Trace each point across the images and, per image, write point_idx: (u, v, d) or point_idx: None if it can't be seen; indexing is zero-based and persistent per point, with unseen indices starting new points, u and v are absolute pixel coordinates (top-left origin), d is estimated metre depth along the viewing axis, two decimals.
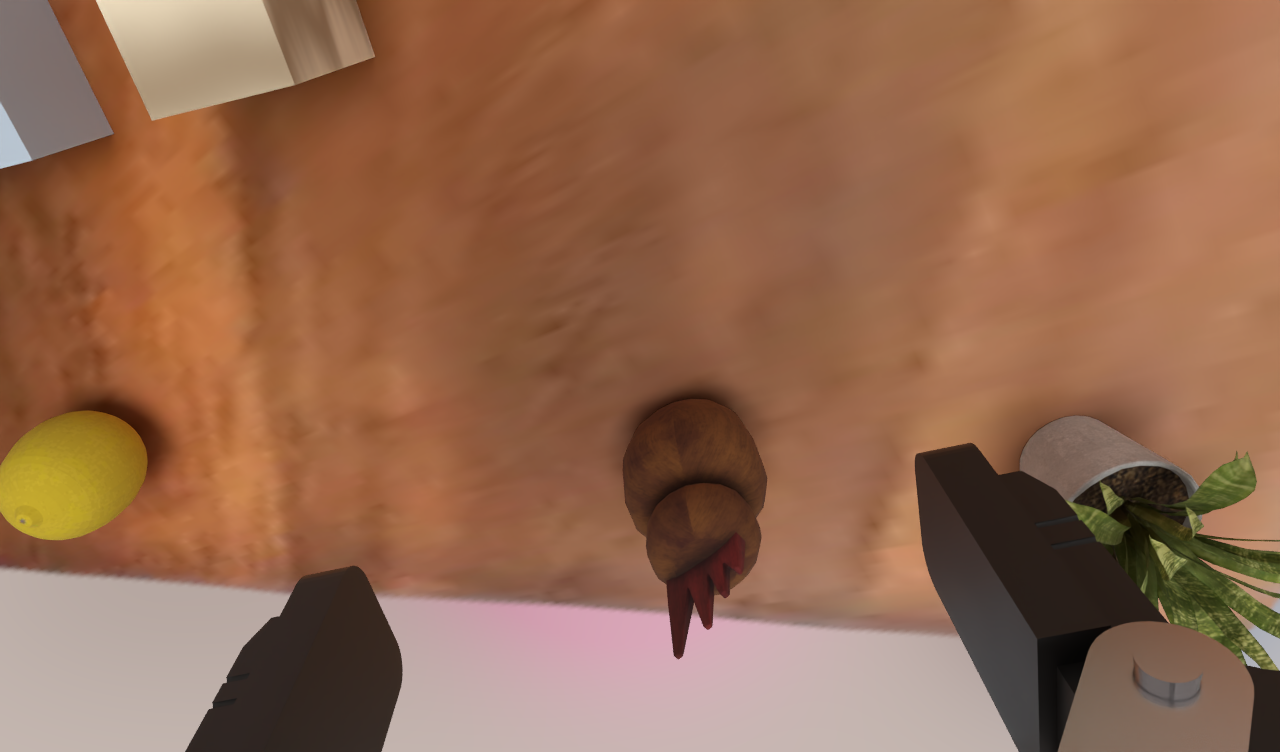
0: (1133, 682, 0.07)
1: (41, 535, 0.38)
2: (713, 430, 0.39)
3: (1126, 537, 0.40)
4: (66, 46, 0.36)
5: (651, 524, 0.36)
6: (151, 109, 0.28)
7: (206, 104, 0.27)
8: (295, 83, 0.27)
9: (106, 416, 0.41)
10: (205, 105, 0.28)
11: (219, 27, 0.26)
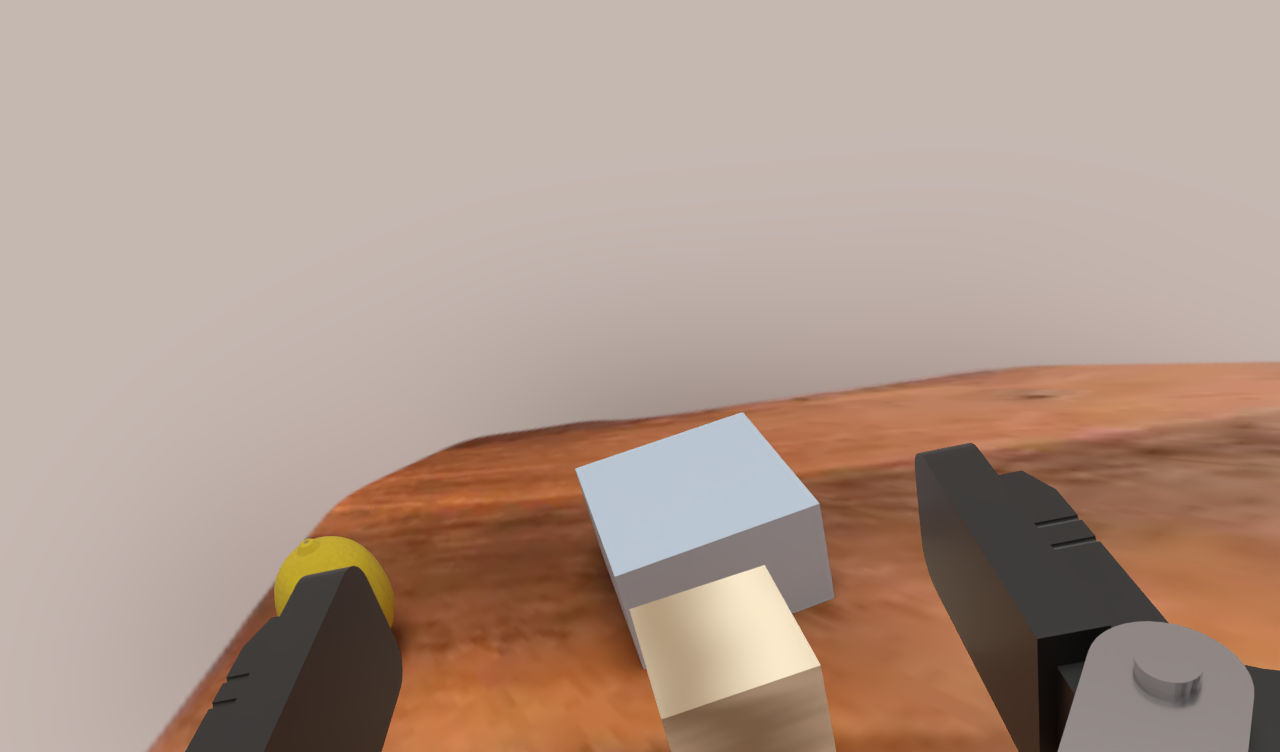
0: (1133, 683, 0.07)
1: (288, 557, 0.42)
2: None
3: None
4: None
5: None
6: (639, 609, 0.29)
7: (643, 647, 0.27)
8: (663, 721, 0.25)
9: None
10: (641, 646, 0.27)
11: (714, 657, 0.26)
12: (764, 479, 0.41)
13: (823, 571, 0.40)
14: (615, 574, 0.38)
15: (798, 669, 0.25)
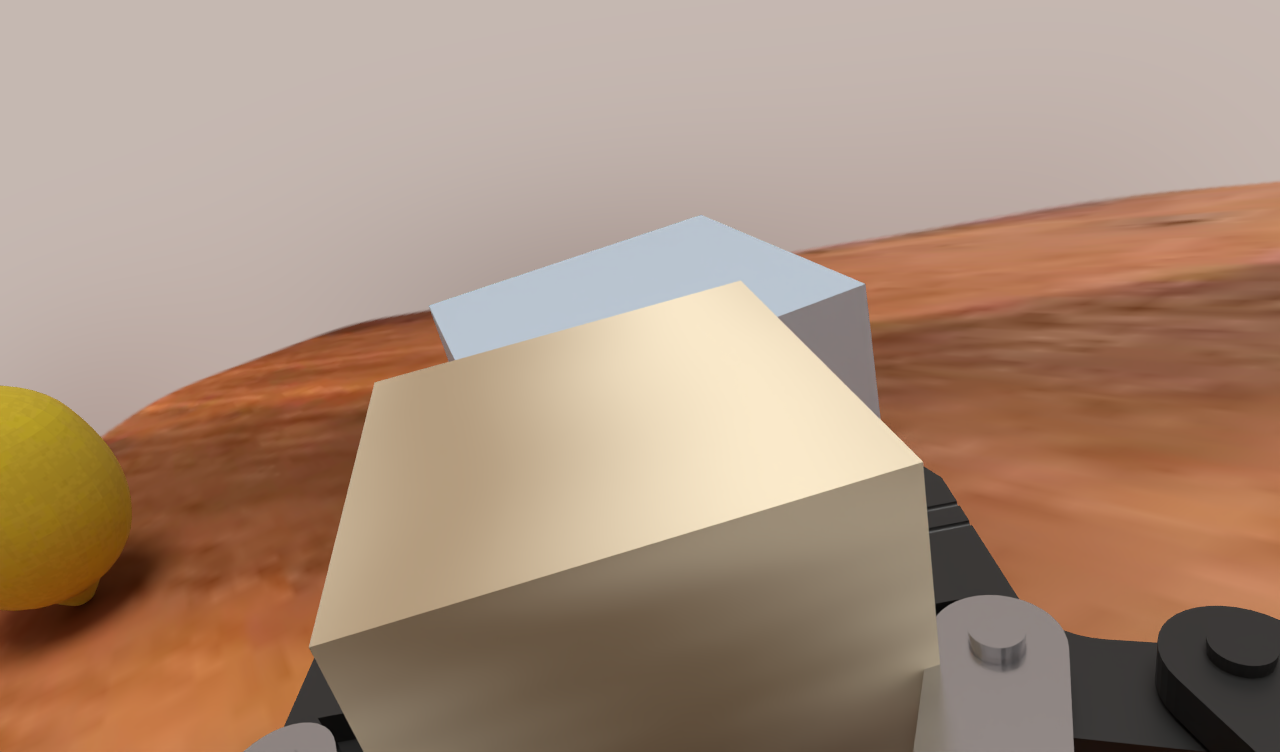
0: (965, 649, 0.08)
1: None
2: None
3: None
4: None
5: None
6: (398, 380, 0.11)
7: (363, 454, 0.09)
8: (318, 655, 0.06)
9: (85, 555, 0.25)
10: (362, 453, 0.09)
11: (559, 463, 0.08)
12: (755, 272, 0.23)
13: None
14: None
15: (841, 475, 0.07)
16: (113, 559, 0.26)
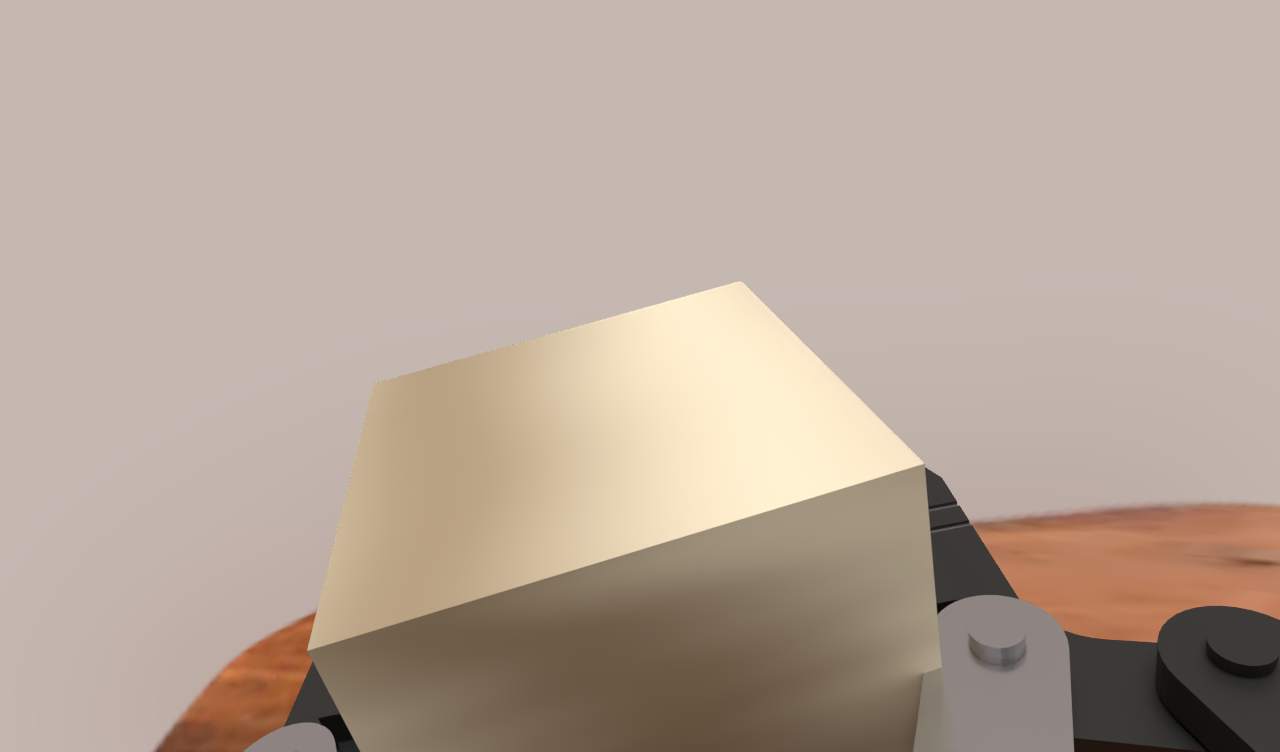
0: (965, 648, 0.08)
1: None
2: None
3: None
4: None
5: None
6: (397, 381, 0.11)
7: (361, 455, 0.09)
8: (316, 658, 0.06)
9: None
10: (361, 454, 0.09)
11: (558, 464, 0.08)
12: None
13: None
14: None
15: (842, 477, 0.07)
16: None
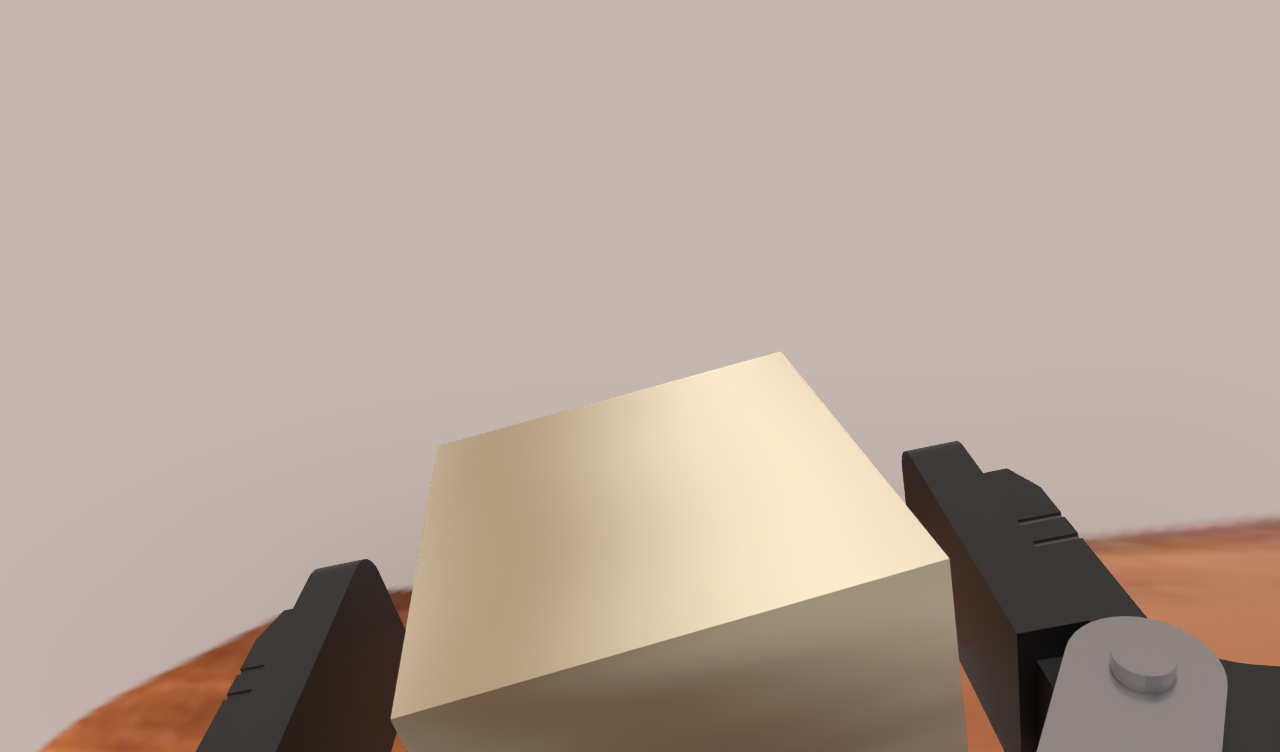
0: (1109, 676, 0.07)
1: None
2: None
3: None
4: None
5: None
6: (459, 445, 0.12)
7: (430, 521, 0.10)
8: (398, 725, 0.07)
9: None
10: (429, 520, 0.10)
11: (612, 541, 0.09)
12: None
13: None
14: None
15: (873, 569, 0.07)
16: None
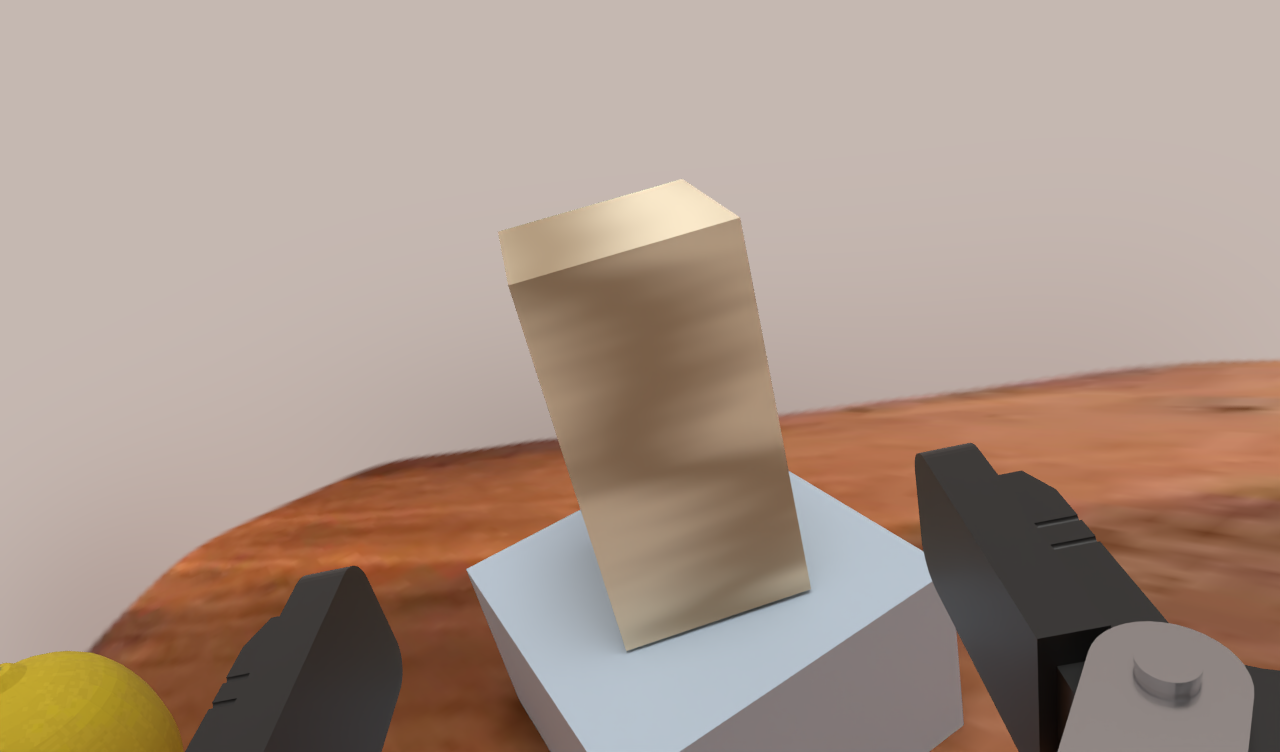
0: (1133, 682, 0.07)
1: None
2: None
3: None
4: None
5: None
6: (510, 229, 0.21)
7: (504, 249, 0.20)
8: (511, 289, 0.17)
9: None
10: (503, 249, 0.20)
11: (596, 238, 0.19)
12: (825, 539, 0.23)
13: (950, 685, 0.23)
14: None
15: (708, 225, 0.18)
16: None
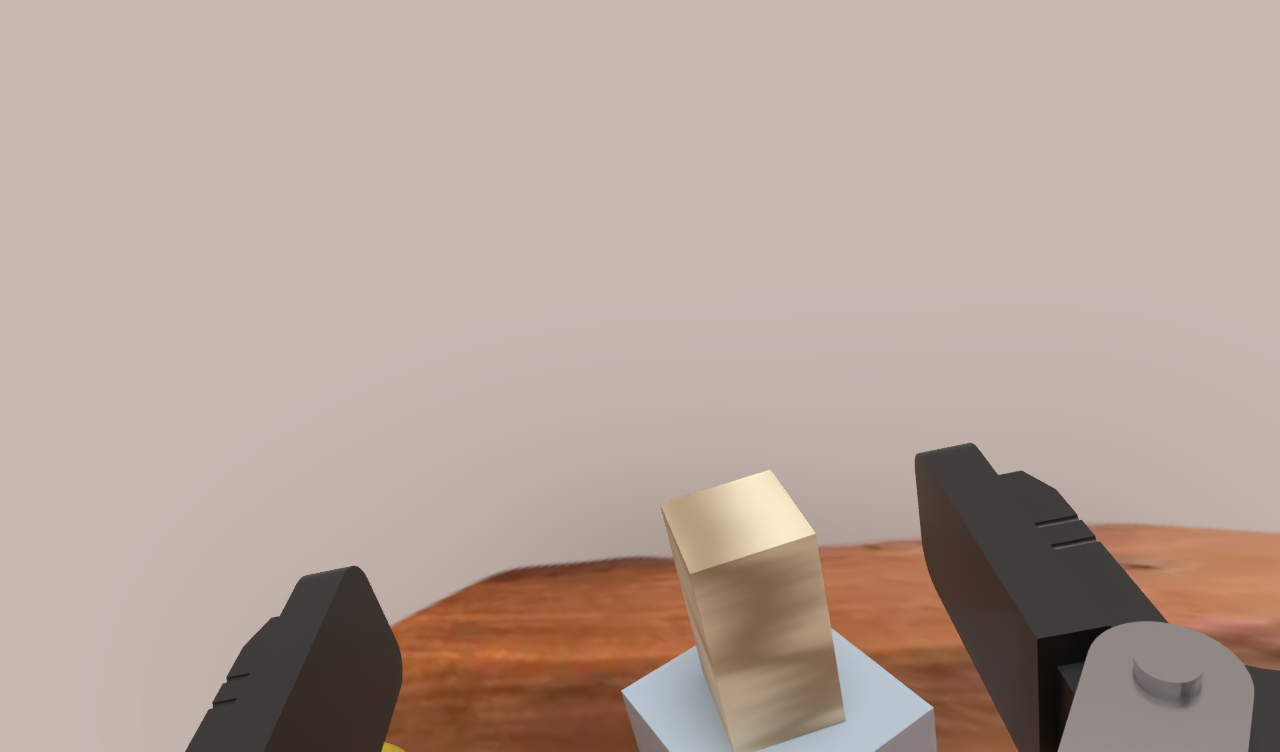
0: (1134, 683, 0.07)
1: None
2: None
3: None
4: None
5: None
6: (668, 503, 0.36)
7: (672, 528, 0.34)
8: (691, 575, 0.31)
9: None
10: (671, 528, 0.34)
11: (731, 532, 0.33)
12: (855, 681, 0.38)
13: None
14: None
15: (798, 537, 0.32)
16: None
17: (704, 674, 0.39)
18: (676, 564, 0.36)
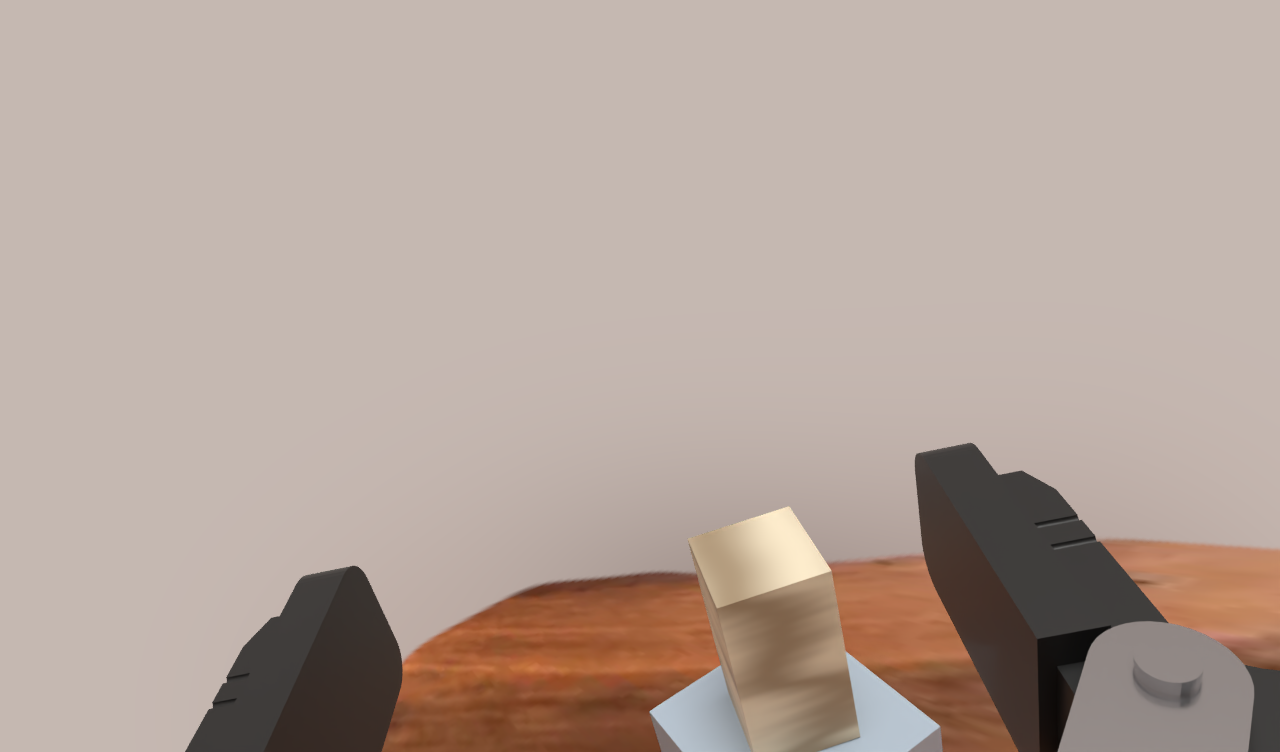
0: (1133, 682, 0.07)
1: None
2: None
3: None
4: None
5: None
6: (695, 538, 0.39)
7: (699, 563, 0.37)
8: (718, 610, 0.34)
9: None
10: (699, 563, 0.37)
11: (753, 568, 0.36)
12: (868, 701, 0.41)
13: None
14: None
15: (815, 573, 0.35)
16: None
17: (729, 692, 0.42)
18: (702, 593, 0.40)
